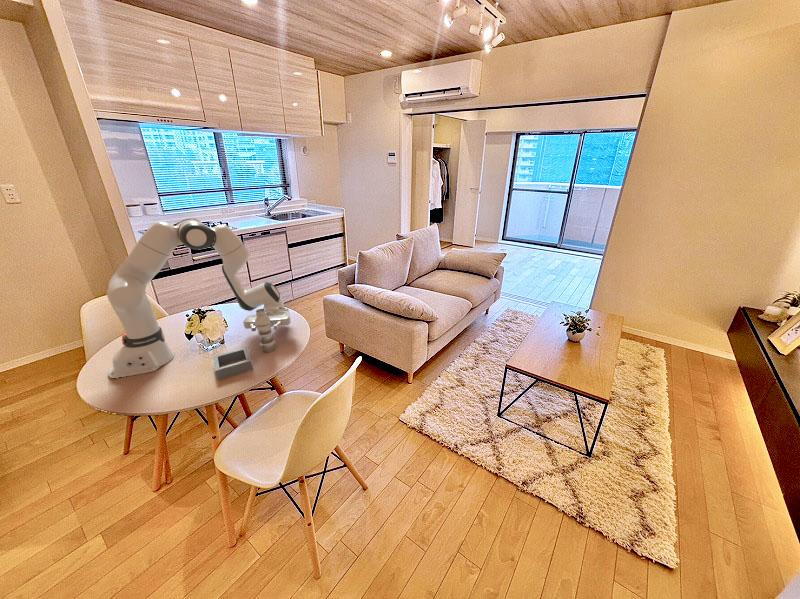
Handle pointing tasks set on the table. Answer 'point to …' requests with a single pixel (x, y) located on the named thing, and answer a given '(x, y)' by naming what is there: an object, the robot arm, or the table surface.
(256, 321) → the plastic bottle
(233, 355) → the collar socket
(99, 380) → the table surface
